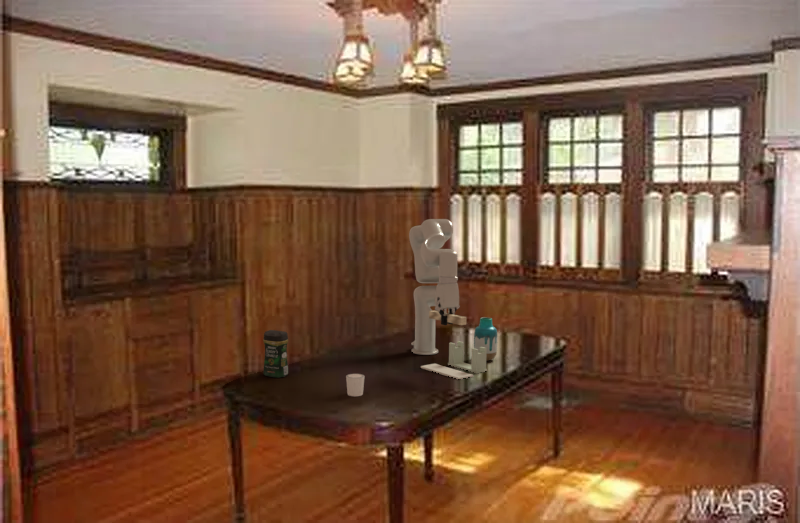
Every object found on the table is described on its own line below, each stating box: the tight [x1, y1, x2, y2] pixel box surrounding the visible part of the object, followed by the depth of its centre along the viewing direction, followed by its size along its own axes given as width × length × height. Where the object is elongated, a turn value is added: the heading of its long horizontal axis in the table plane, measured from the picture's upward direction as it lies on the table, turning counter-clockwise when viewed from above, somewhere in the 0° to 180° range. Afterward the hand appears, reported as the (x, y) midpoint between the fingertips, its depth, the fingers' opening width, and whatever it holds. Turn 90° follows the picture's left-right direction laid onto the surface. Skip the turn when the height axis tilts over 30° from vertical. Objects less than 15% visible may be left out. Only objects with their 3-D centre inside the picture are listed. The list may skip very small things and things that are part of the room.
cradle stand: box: [447, 340, 488, 374], centre depth 296 cm, size 18×6×10 cm, turn 38°
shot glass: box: [345, 373, 365, 397], centre depth 255 cm, size 7×7×7 cm
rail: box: [429, 310, 468, 326], centre depth 287 cm, size 20×3×3 cm, turn 38°
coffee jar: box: [262, 329, 289, 379], centre depth 280 cm, size 10×8×19 cm
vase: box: [473, 316, 499, 362], centre depth 311 cm, size 11×11×19 cm
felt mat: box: [420, 363, 474, 380], centre depth 289 cm, size 24×8×1 cm, turn 38°
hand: (447, 324), depth 287 cm, fingers closed on rail, 2 cm apart
